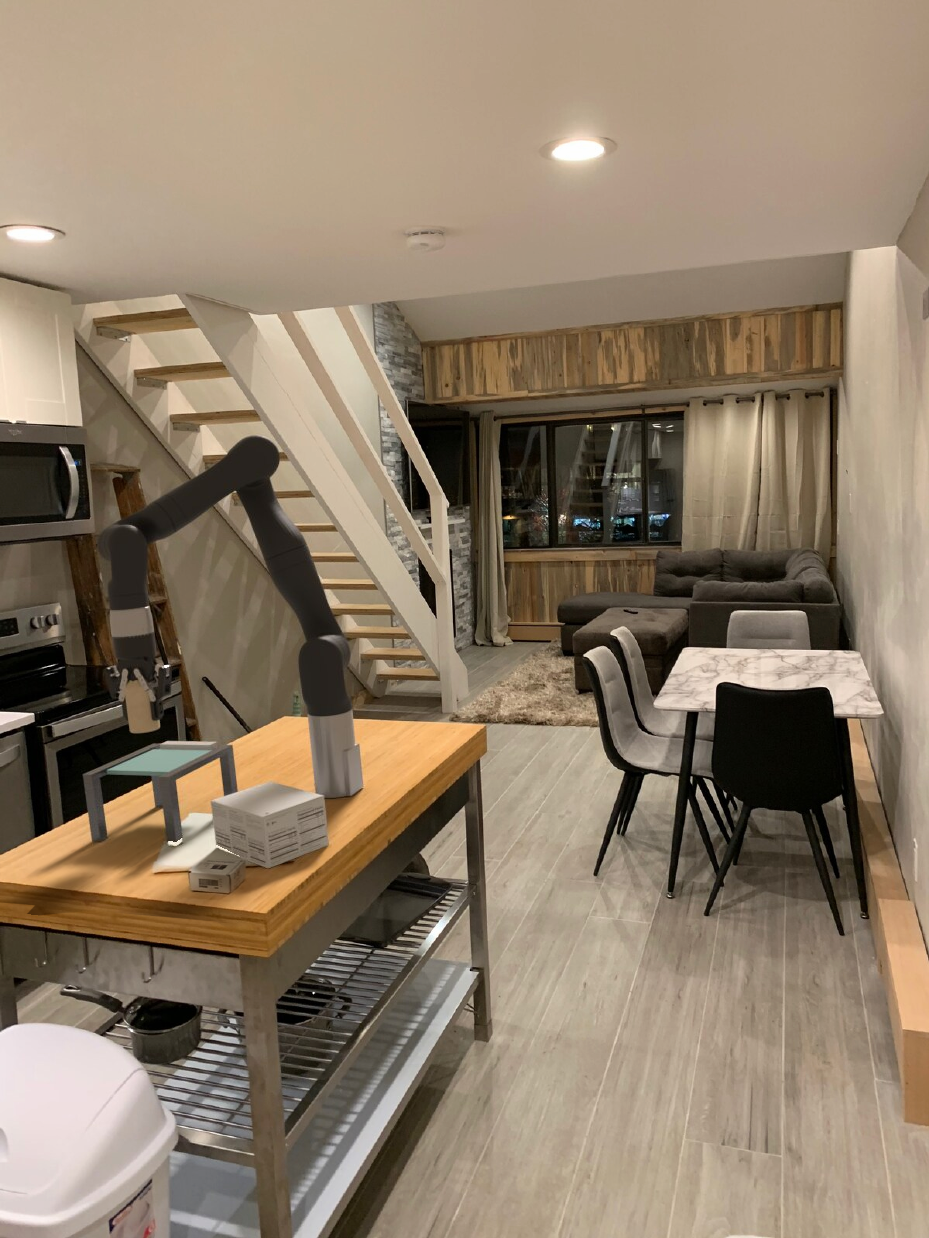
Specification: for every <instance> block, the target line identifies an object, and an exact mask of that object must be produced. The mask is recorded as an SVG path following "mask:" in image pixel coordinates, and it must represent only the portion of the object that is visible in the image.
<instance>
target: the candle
mask: <svg viewBox="0 0 929 1238" xmlns="http://www.w3.org/2000/svg"><path fill="white" fill-rule="evenodd" d="M148 684H150V685H151V684H153V682H152V681H151V682H149V683H148ZM124 690H125V698H126V706H127V713H128V726H129V732H130V733H132V734H144V733H150V732H154V731H157V730H159V729H160V728H161V723H160V722H161V721H160V720H157V721H153V720H152V714H151V706H150V702H151V700H150V698H149V696H148V693H147V691H145V690H144V688H143V687H142V686H141V684H140V682H139V680H135V681H131V680H130V681H129V682H128V684H127V685H126V686H125V688H124ZM153 690H154V692H155V689H154V688H153Z"/></svg>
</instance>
